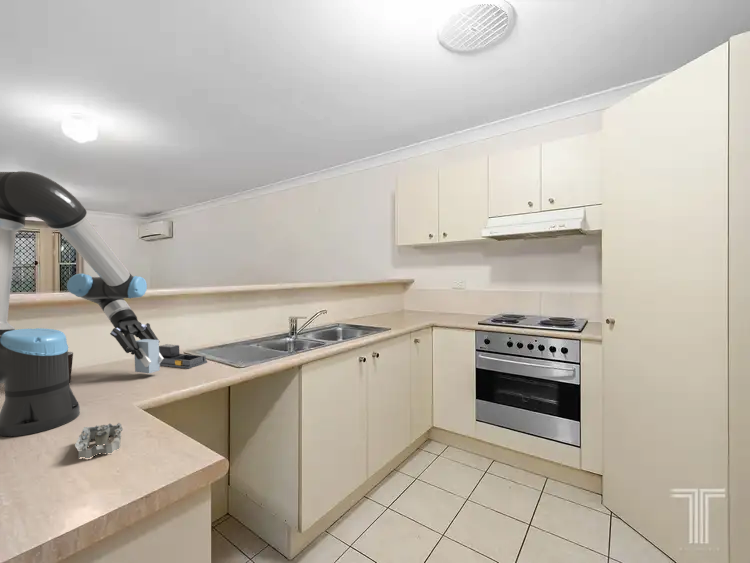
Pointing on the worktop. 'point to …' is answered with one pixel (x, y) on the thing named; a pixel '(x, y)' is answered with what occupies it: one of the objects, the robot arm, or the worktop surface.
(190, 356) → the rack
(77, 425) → the worktop surface
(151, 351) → the light blue upright block
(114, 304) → the robot arm
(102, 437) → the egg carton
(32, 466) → the worktop surface
